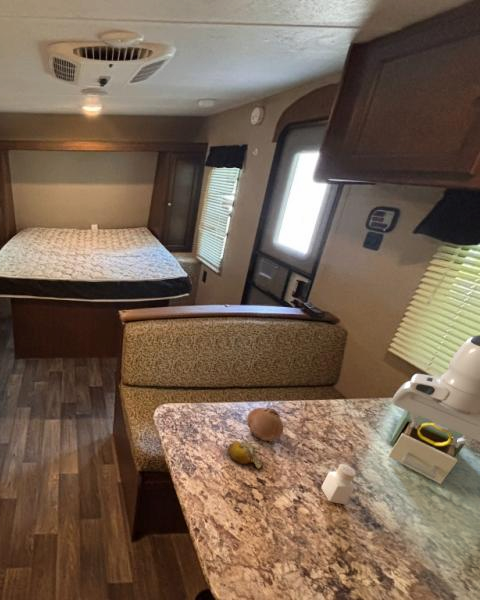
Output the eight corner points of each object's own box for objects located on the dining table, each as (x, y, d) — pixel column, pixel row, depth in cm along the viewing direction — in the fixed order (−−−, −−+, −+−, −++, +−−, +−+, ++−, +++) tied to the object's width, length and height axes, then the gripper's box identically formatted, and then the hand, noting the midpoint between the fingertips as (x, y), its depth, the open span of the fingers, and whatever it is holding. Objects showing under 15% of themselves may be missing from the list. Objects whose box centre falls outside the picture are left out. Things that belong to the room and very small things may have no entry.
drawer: (438, 495, 79) (456, 472, 75) (384, 465, 86) (398, 443, 83) (445, 457, 90) (460, 435, 86) (396, 434, 97) (409, 413, 94)
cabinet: (445, 470, 87) (464, 444, 82) (389, 443, 95) (405, 417, 91) (449, 444, 95) (467, 419, 91) (398, 421, 103) (412, 397, 99)
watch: (413, 437, 86) (423, 421, 84) (414, 432, 88) (424, 416, 85) (444, 451, 82) (456, 434, 80) (445, 446, 84) (456, 429, 81)
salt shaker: (328, 502, 77) (343, 476, 73) (319, 487, 80) (333, 461, 77) (346, 505, 76) (362, 478, 72) (336, 489, 80) (351, 463, 76)
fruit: (265, 470, 84) (269, 460, 83) (234, 468, 84) (237, 459, 83) (250, 444, 92) (253, 435, 90) (221, 443, 92) (224, 434, 90)
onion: (261, 434, 99) (277, 407, 98) (280, 453, 90) (297, 423, 89) (235, 423, 99) (250, 395, 98) (251, 440, 90) (268, 410, 88)
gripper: (527, 414, 73) (493, 456, 79) (407, 370, 87) (386, 409, 93) (528, 426, 69) (492, 470, 75) (403, 379, 84) (381, 418, 89)
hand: (432, 435), depth 84 cm, fingers closed on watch, 6 cm apart
